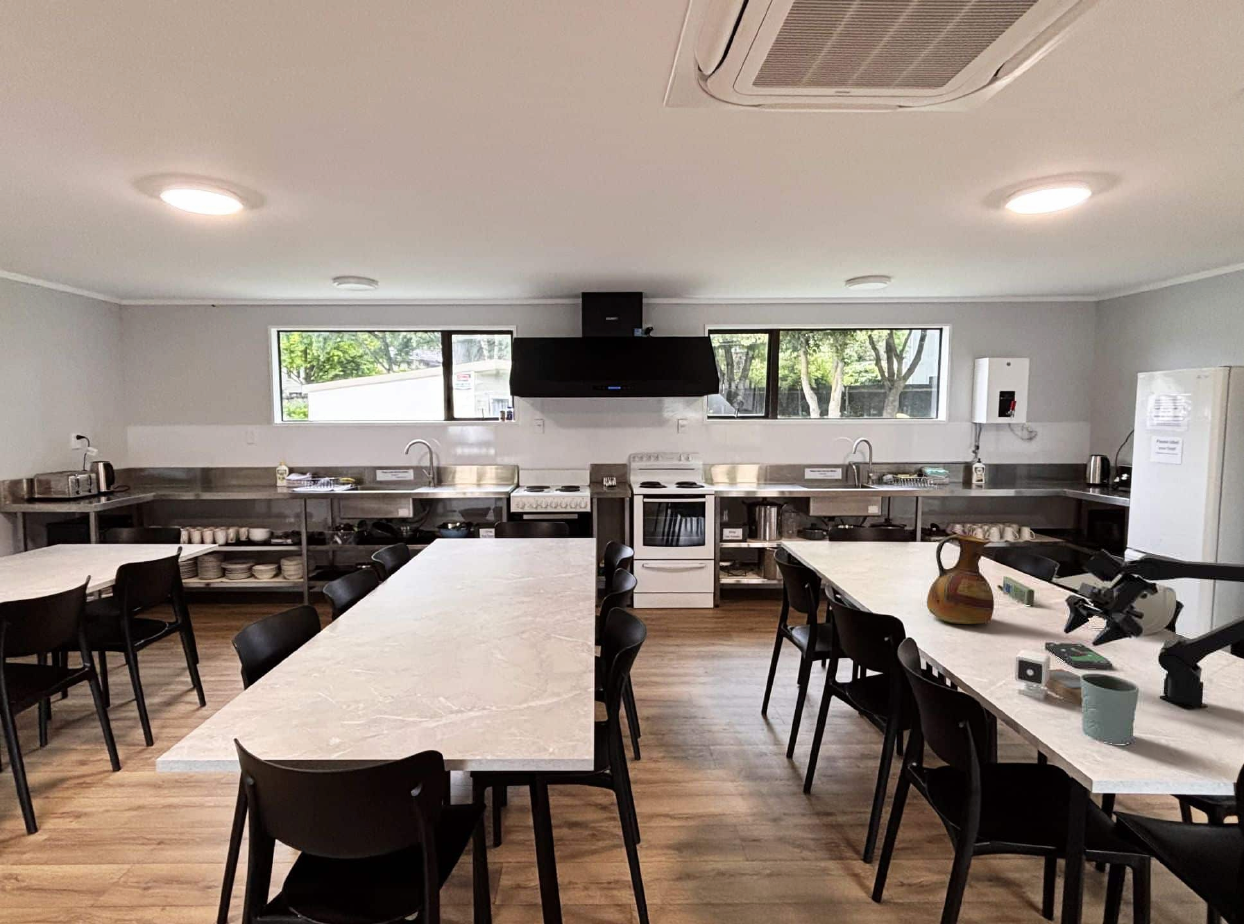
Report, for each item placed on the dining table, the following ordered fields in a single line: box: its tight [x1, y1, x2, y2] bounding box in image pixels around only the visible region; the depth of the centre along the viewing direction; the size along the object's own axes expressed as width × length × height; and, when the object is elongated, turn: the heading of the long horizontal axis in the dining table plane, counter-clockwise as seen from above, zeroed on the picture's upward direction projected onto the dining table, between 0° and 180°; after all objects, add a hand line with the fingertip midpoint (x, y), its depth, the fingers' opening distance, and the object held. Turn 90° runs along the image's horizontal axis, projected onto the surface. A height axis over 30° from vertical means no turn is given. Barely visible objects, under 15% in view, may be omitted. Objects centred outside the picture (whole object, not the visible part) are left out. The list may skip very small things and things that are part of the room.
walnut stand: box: [1044, 668, 1082, 707], centre depth 158 cm, size 14×9×4 cm, turn 10°
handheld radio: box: [997, 575, 1035, 607], centre depth 244 cm, size 7×3×25 cm
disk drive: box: [1044, 641, 1113, 671], centre depth 181 cm, size 10×3×15 cm
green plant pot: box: [1080, 673, 1140, 744], centre depth 136 cm, size 10×10×12 cm
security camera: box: [1014, 649, 1051, 700], centre depth 157 cm, size 6×7×10 cm
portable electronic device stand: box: [1051, 572, 1177, 636], centre depth 212 cm, size 26×24×16 cm
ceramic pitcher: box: [926, 533, 995, 625], centre depth 215 cm, size 20×20×30 cm
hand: (1078, 638), depth 158 cm, fingers open, 9 cm apart
